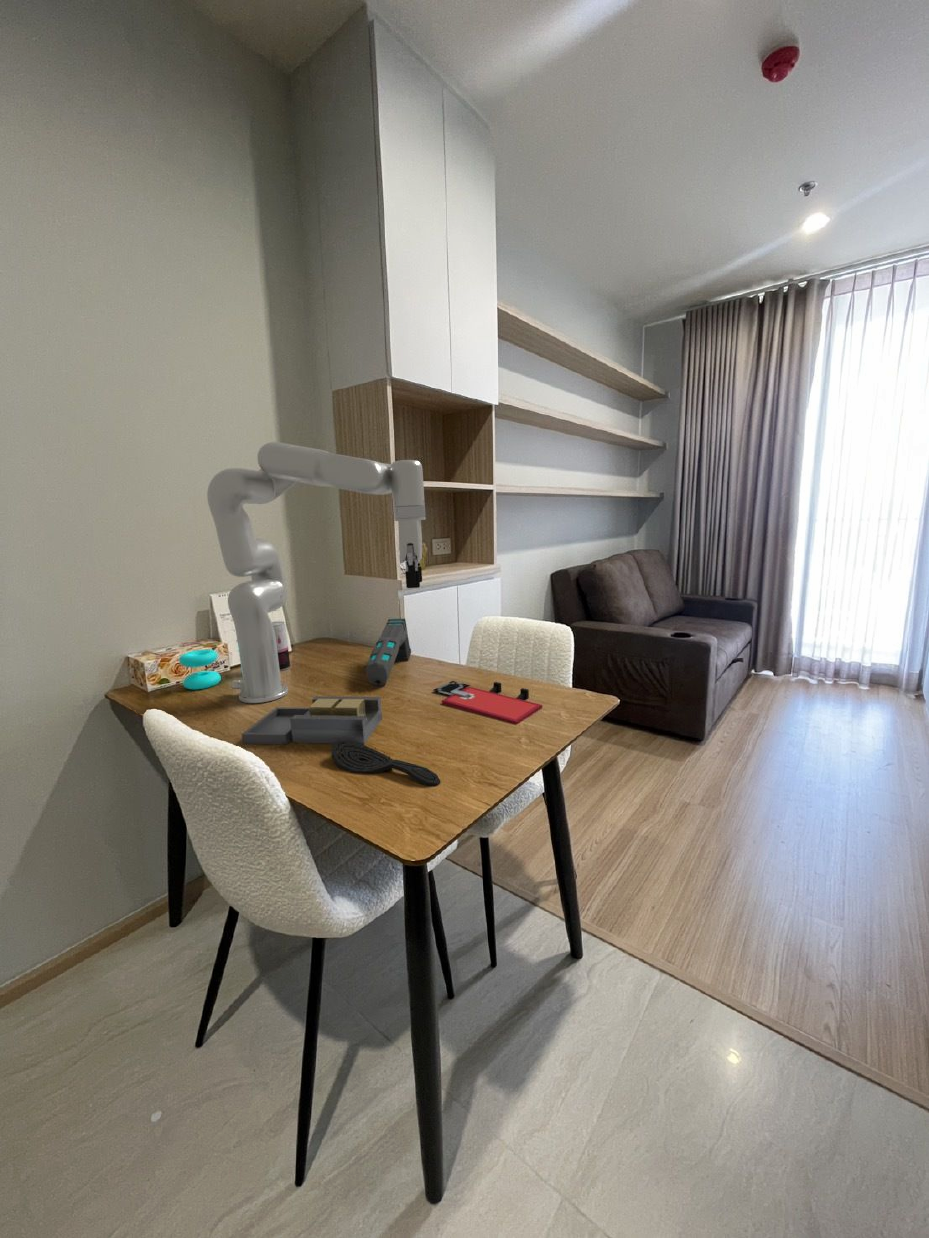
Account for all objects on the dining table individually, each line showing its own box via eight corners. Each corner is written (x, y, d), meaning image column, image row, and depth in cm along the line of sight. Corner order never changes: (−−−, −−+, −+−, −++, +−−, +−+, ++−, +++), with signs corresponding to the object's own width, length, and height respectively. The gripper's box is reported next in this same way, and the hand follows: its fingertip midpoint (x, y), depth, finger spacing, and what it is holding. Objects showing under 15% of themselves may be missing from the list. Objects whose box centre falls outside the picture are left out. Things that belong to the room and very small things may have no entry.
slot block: (292, 742, 106) (290, 718, 105) (318, 717, 119) (315, 696, 117) (364, 744, 104) (362, 719, 103) (382, 718, 116) (380, 696, 115)
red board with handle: (456, 681, 140) (420, 699, 129) (456, 672, 140) (419, 689, 129) (549, 705, 122) (517, 727, 111) (549, 694, 121) (517, 716, 110)
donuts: (223, 650, 146) (189, 659, 138) (228, 682, 148) (194, 693, 140) (205, 646, 151) (172, 655, 143) (210, 677, 153) (177, 687, 145)
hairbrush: (425, 783, 83) (320, 746, 96) (425, 802, 84) (321, 763, 97) (451, 761, 90) (350, 729, 103) (451, 779, 91) (351, 746, 103)
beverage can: (290, 664, 164) (284, 620, 161) (290, 669, 158) (285, 624, 155) (269, 667, 162) (263, 622, 159) (269, 672, 156) (263, 626, 153)
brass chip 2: (336, 722, 108) (334, 707, 107) (344, 713, 113) (343, 698, 112) (358, 722, 107) (356, 707, 107) (365, 713, 112) (364, 699, 112)
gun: (412, 651, 168) (406, 612, 161) (394, 707, 143) (385, 665, 135) (394, 651, 169) (387, 613, 161) (372, 707, 144) (362, 666, 136)
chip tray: (243, 743, 107) (241, 734, 106) (277, 715, 121) (276, 707, 121) (286, 744, 105) (285, 734, 105) (315, 716, 120) (314, 707, 119)
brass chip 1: (310, 721, 109) (308, 707, 108) (319, 713, 114) (318, 698, 113) (332, 722, 108) (330, 707, 108) (340, 713, 113) (339, 698, 112)
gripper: (397, 515, 126) (402, 581, 130) (389, 515, 109) (395, 591, 113) (426, 513, 126) (431, 579, 130) (423, 513, 110) (428, 589, 113)
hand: (414, 584), depth 121 cm, fingers open, 9 cm apart
